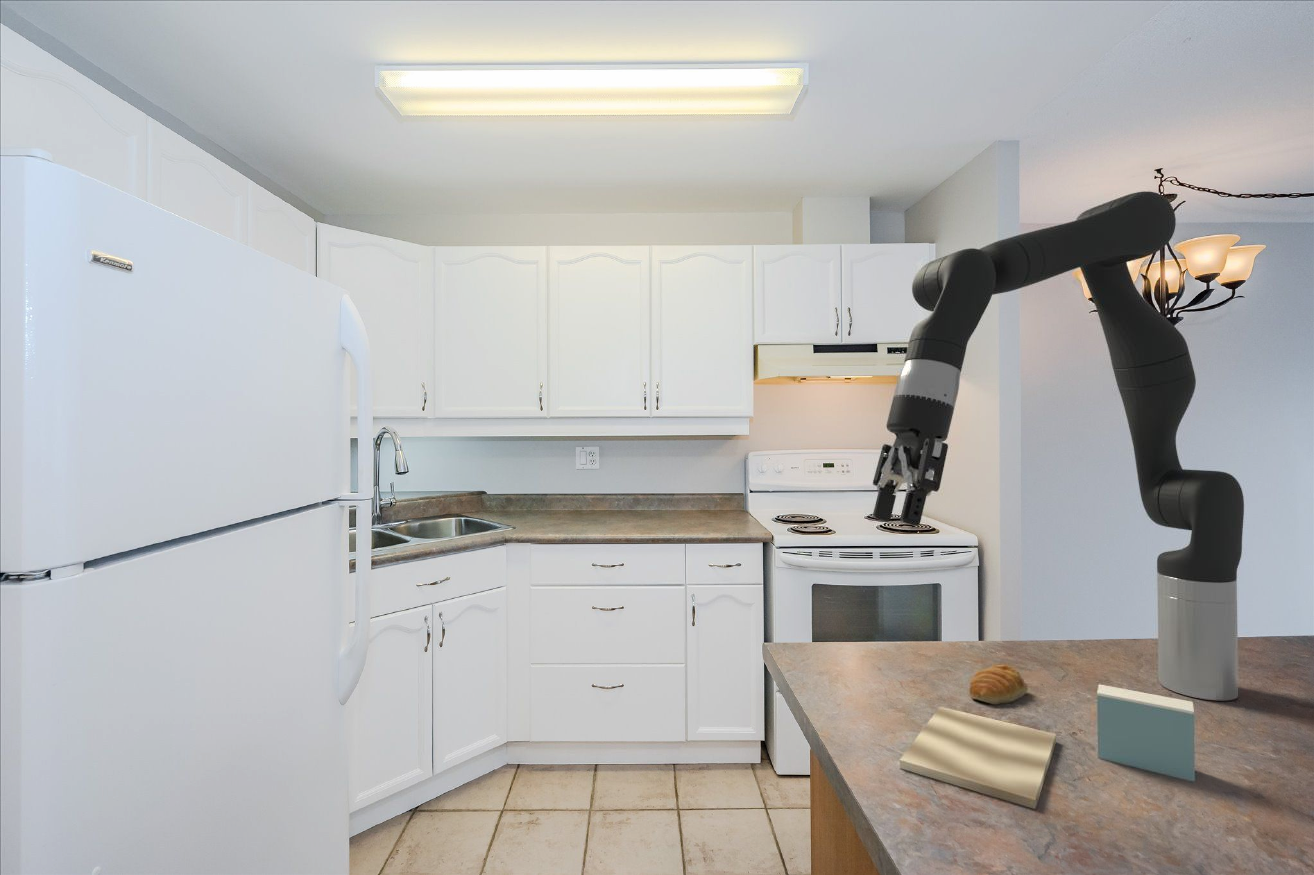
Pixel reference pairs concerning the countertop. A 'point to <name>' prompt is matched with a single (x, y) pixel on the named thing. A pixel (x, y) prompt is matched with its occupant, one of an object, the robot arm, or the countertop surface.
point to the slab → (1146, 731)
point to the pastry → (997, 685)
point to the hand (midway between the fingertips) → (894, 521)
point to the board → (982, 755)
